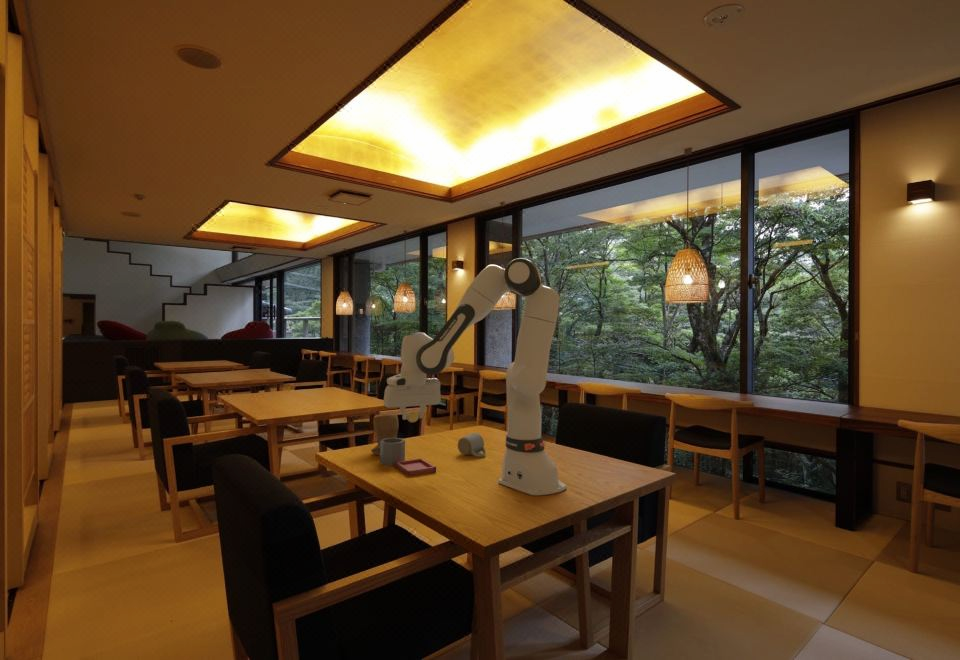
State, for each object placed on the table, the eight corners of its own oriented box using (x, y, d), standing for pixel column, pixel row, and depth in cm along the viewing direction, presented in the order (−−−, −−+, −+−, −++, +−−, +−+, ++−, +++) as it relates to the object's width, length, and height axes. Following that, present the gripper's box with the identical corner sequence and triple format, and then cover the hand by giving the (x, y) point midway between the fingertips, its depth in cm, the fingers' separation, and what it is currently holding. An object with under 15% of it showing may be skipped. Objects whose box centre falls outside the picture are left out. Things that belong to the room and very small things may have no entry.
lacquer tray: (436, 472, 165) (436, 467, 165) (408, 476, 160) (408, 471, 160) (421, 463, 175) (421, 458, 175) (395, 467, 170) (395, 461, 170)
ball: (420, 422, 167) (420, 411, 167) (409, 423, 165) (409, 412, 165) (415, 420, 171) (415, 409, 171) (404, 421, 169) (405, 410, 169)
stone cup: (382, 446, 198) (382, 409, 198) (408, 448, 195) (409, 411, 194) (362, 455, 184) (362, 416, 183) (390, 458, 180) (391, 418, 180)
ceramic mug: (455, 454, 188) (456, 434, 188) (469, 450, 194) (470, 431, 194) (477, 460, 181) (477, 439, 181) (490, 455, 187) (491, 435, 187)
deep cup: (407, 463, 174) (407, 441, 174) (385, 467, 169) (385, 444, 169) (398, 458, 181) (399, 436, 181) (377, 461, 177) (377, 439, 176)
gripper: (436, 376, 176) (435, 414, 176) (382, 379, 165) (381, 419, 165) (444, 378, 171) (443, 418, 171) (389, 381, 160) (388, 423, 160)
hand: (412, 418), depth 168 cm, fingers closed on ball, 4 cm apart
